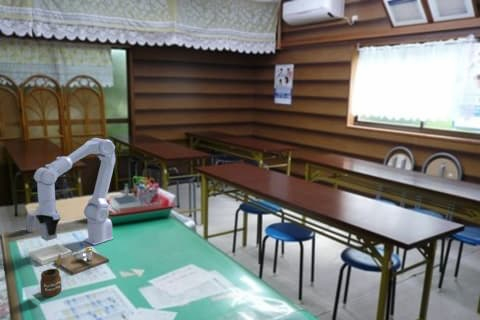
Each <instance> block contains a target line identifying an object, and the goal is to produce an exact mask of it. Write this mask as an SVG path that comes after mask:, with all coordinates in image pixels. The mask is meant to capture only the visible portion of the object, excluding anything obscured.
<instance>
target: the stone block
mask: <svg viewBox="0 0 480 320" xmlns="http://www.w3.org/2000/svg"><path fill="white" fill-rule="evenodd" d="M36 212H37V209H35V210H30V211H29V212H28V213H27V215H25V217H26V218H25V227H26V228H25V229H26V231H27V232H28V233H33V232H36V231H38V230H39V229H40V230H41V225H40V222H39V220H38V219H37V218H36V215H37V214H36Z"/></svg>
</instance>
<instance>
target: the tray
mask: <svg viewBox="0 0 480 320" xmlns="http://www.w3.org/2000/svg"><path fill="white" fill-rule="evenodd" d="M59 254H60V255H61V258H64V257H67V256H70V255H73V252H72V250H70V249H69V248H67V247H65V246H63V245H61V244H59V243H55V244H52V245H51V244H50V245H48V246H44V247H42V248H38V249H35V250H31V251H29V252H28V258H30V259H31V260H33V261H34V262H36V263H39V264H40V266H46V265H48V264H52V263H54V261H55V260H58V256H59ZM61 258H60V259H61ZM43 261H44V262H45V263H44V262H43ZM40 262H42V263H40ZM43 264H44V265H43Z"/></svg>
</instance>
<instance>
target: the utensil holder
mask: <svg viewBox="0 0 480 320" xmlns="http://www.w3.org/2000/svg"><path fill="white" fill-rule="evenodd" d="M60 258H61V255H60V254H59V256H58V260H57V265H56V268H47V269H46V267H49V266H48V264H46V266H45V265H44V264H43V265H42V266H43V267H41V264H39V265H38V267H40V270H41V271H40V272H41V274H40V277H41V278H40V280H39V281H40V282H39V284H40V286H39V287H40V294H41V296H42V297H45V298H48V297H49V298H50V297H55V296H57V295H59V294H60V293H62V292H61V291H62V277H61V274H60V270H59V266H58V265H59V264H60ZM43 262H44V261H43ZM40 263H42V262H40ZM44 263H45V262H44ZM43 269H44V270H43Z"/></svg>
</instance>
